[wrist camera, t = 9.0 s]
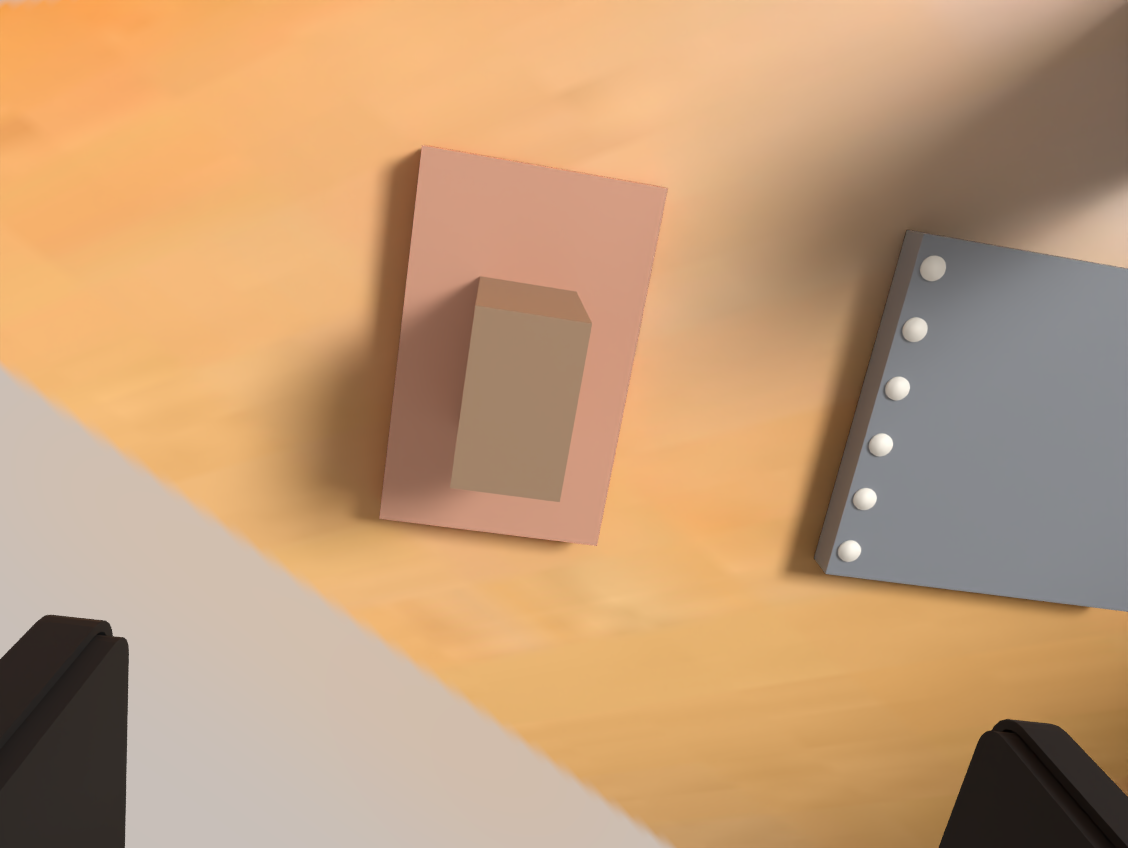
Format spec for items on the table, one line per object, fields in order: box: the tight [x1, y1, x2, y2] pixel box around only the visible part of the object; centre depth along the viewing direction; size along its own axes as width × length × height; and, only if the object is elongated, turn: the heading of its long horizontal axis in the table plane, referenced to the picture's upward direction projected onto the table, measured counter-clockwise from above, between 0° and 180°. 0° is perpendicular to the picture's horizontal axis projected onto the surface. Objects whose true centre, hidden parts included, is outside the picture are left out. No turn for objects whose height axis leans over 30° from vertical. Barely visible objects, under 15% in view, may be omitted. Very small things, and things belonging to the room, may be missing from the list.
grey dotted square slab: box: [814, 230, 1128, 612], centre depth 30 cm, size 12×12×1 cm
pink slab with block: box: [379, 145, 668, 546], centre depth 25 cm, size 7×12×6 cm, turn 170°
